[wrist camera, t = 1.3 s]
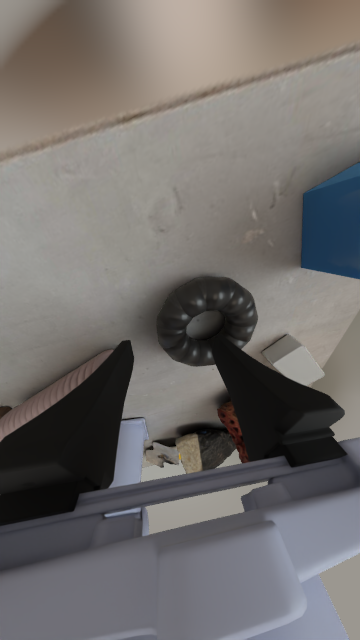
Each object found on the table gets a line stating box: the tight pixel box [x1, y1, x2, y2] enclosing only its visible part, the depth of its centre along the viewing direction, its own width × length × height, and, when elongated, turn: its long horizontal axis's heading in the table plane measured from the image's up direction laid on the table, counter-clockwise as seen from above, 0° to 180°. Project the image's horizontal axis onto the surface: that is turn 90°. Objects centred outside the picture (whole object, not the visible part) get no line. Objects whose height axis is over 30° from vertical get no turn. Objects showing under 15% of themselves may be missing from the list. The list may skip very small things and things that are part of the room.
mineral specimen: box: [175, 429, 236, 474], centre depth 30 cm, size 13×7×15 cm
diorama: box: [146, 442, 179, 468], centre depth 33 cm, size 8×12×2 cm
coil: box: [0, 349, 114, 442], centre depth 16 cm, size 5×5×18 cm
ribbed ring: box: [157, 277, 258, 366], centre depth 14 cm, size 10×10×3 cm
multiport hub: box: [262, 335, 325, 386], centre depth 20 cm, size 4×11×2 cm, turn 47°
